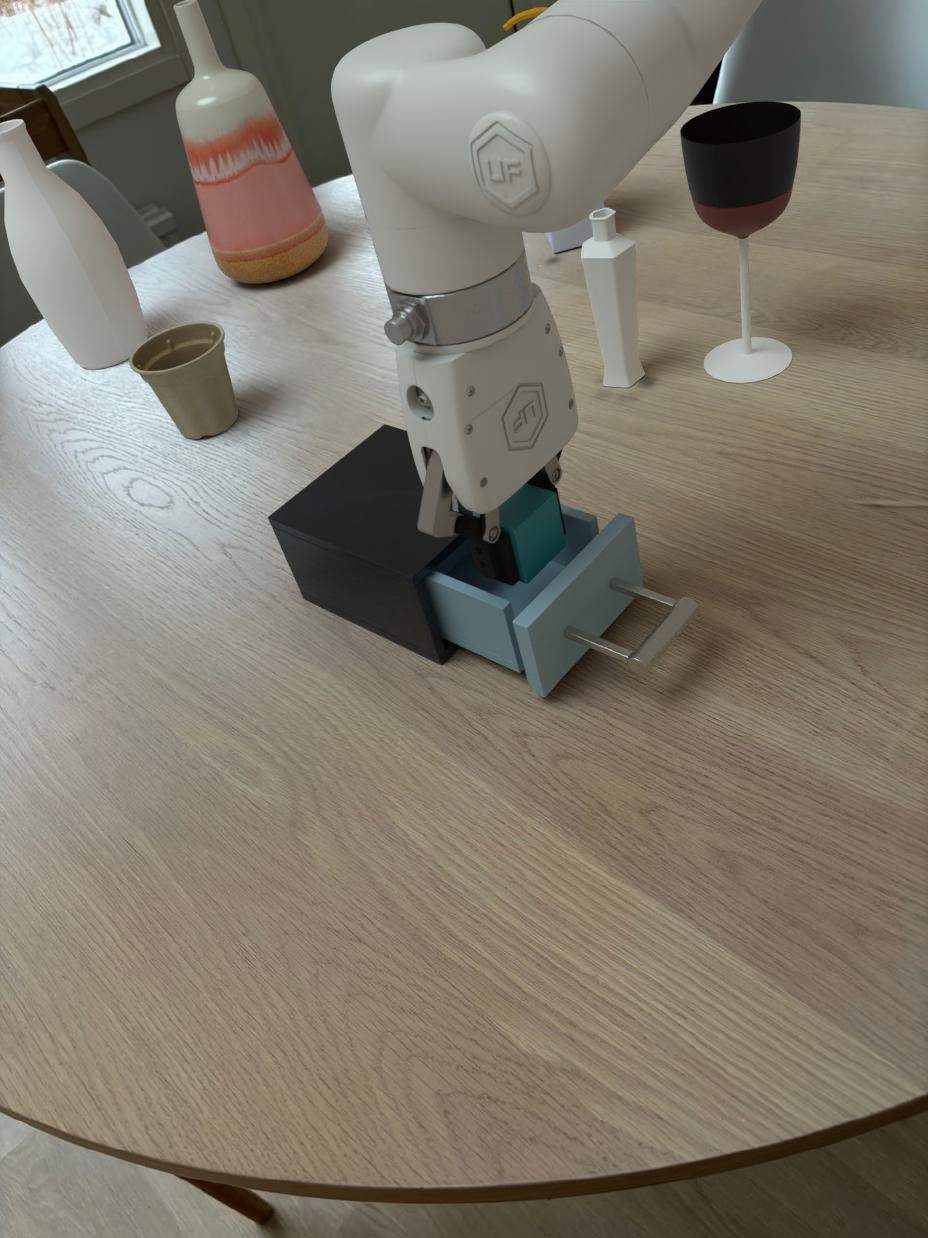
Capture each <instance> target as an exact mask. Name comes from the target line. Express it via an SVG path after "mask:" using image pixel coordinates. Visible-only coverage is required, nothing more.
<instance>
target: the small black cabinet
mask: <svg viewBox="0 0 928 1238" xmlns="http://www.w3.org/2000/svg"><path fill="white" fill-rule="evenodd" d="M423 489H424V486H423V484H422V482H421V479H420V476H419V474H418V470H417V467H416V464H415V461H414V457H413V453H412V450H411V446H410V442H409V437H408V433H407V429H402V428H399V427H396V426H393V425H389V424H386V423H383V425H382V426H380V427H379V428H377V429H376V430H375V431H374V432H372V433H371V434H370V435H369V436H368V437H366V438H365V439H364V440H363V441H361V442H360V443H359V444H357V445H356V446H355V447H354V448H353V449H351V450H350V451H348V452H347V453H346V454H344V456H342V457H341V458H340V459H339V460H337V461H336V462H335V463H334V464H332V465H331V466H330V467H329V468H328V469H326V470H325V471H324V472H322V473H321V474H319V476H317V477H316V478H314V479H313V480H312V481H311V482H310V483H309V484H307V485H306V486H305V487H303V488H302V489H301V490H300V491H299V492H297V493H296V494H295V495H293V496H292V497H291V498H289V499H288V500H287V501H286V502H285V503H283V504H282V505H281V506H280V507H279V508H277V509H276V510H275V511H273V512H272V513H271V514H270V515H268V516H267V520H268V522H269V524H270V526H271V528H272V530H273V533H274V535H275V538H276V540H277V542H278V544H279V546H280V549H281V551H282V553H283V555H284V557H285V560H286V562H287V564H288V567H289V569H290V572H291V574H292V575H293V578H294V580H295V582H296V585H297V587H298V589H299V591H300V594H301V596H302V599H303V600H305V601H307V602H309V603H311V604H313V605H316V606H318V607H319V608H322V609H324V610H326V611H328V612H330V613H332V614H334V615H336V616H338V617H341V618H343V619H344V620H347V621H348V622H351V623H353V624H355V625H357V626H359V627H361V628H363V629H364V630H368V631H370V632H372V633H374V634H376V635H378V636H380V637H382V638H384V639H386V640H388V641H391V642H393V643H395V644H396V645H398V646H401V647H403V648H405V649H407V650H409V651H411V652H414V653H415V654H418V655H419V656H422V657H424V658H426V659H428V660H430V661H432V662H433V663H436V664H438V665H440V666H443V664H444V663H445V662H446V661H447V660H448V659H449V658H450V657H451V656H452V655H453V654H454V653H455V652H456V651H458V649H459V648H460V647H461V646H459V645H457V644H455V643H453V642H451V641H449V640H446V639H444V638H442V637H441V634H440V631H439V628H438V625H437V622H436V619H435V616H434V613H433V610H432V607H431V604H430V601H429V598H428V594H427V591H426V588H425V585H424V582H423V579H424V578H425V577H427V576H428V575H429V574H430V573H431V572H432V571H433V570H434V569H435V568H436V567H437V566H438V565H439V564H441V563H442V562H443V561H444V560H445V559H446V558H447V557H448V556H449V555H450V554H451V553H452V552H453V551H455V550H456V549H457V548H458V547H459V546H460V545H461V544H462V543H463V542H464V541H465V540H466V539H468V538H467V537H463V536H460V535H454V536H450V537H433V536H431V535H428V534H426V533H423V532H420V531H419V530H418V527H417V526H418V518H419V513H420V507H421V501H422V495H423ZM450 510H452V511H453V506H452V500H451V506H450Z"/></svg>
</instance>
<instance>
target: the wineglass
mask: <svg viewBox="0 0 928 1238" xmlns="http://www.w3.org/2000/svg"><path fill="white" fill-rule="evenodd" d="M801 123H802V111H801V109H800V108H799V107H797V106H795V105H794V104H792V103H787V102H782V101H773V100H769V101H768V100H761V101H747V102H746V101H745V102H740V103H734V104H729V105H724V106H720V107H717V108H712V109H711V110H707V111H705V112H702V113H700V114H698V115H696V116H694V117H692V118H690V119H689V120H688V121H686V122H685V123H683V125H682V126H681V128H680V130H679V132H680V135H679V136H680V143H681V152H682V158H683V165H684V172H685V177H686V181H687V185H688V189H689V192H690V193H689V194H690V196H691V200H692V204H693V208H694V210H695V212H696V215H697V216H698V217H699V219H700V220H701V221H702V222H703V223H704V224H705V225H706V226H707V227H709V228H710V229H713V230H715V231H718V232H720V233H723V234H727V235H730V236H734V237H737V238H738V262H739V287H740V289H739V290H740V315H741V317H740V318H741V319H740V320H741V337H740V338H736V339H732V340H729V341H725V342H724V343H722V344H719V345H717V346H715V347H714V348H712V350H710V351H709V352H708V353H707V354H706V355H705V357H704V359H703V369H704V370H705V372H706V373H707V374H708V375H709V376H710V377H712V378H714V379H716V380H720V381H722V382H726V383H737V384H745V383H756V382H760V381H764V380H767V379H771V378H772V377H775V376H777V375H779V374H781V373H782V372H783V371H784V370H786V369H787V368H788V367H789V366H790V364H791V362H792V360H793V351H792V349H790V347H789V346H788V345H787V344H786V343H783V342H781V341H780V340H778V339H774V338H770V337H764V336H763V337H762V336H752V318H751V285H750V284H751V283H750V258H749V257H750V251H749V250H750V248H749V247H750V246H749V237H750V236H751V235H753V234H754V233H756V232H758V231H760V230H763V229H765V228H766V227H768V226H769V225H770V224H772V223H774V222H775V221H776V220H777V219H778V218H779V217H780V216H781V215H782V214H783V213H784V212H785V210H786V208H787V207H788V205H789V203H790V201H791V197H792V193H793V189H794V182H795V178H796V174H797V173H796V172H797V168H798V162H799V153H800V152H799V151H800V142H801V126H802V124H801Z"/></svg>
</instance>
